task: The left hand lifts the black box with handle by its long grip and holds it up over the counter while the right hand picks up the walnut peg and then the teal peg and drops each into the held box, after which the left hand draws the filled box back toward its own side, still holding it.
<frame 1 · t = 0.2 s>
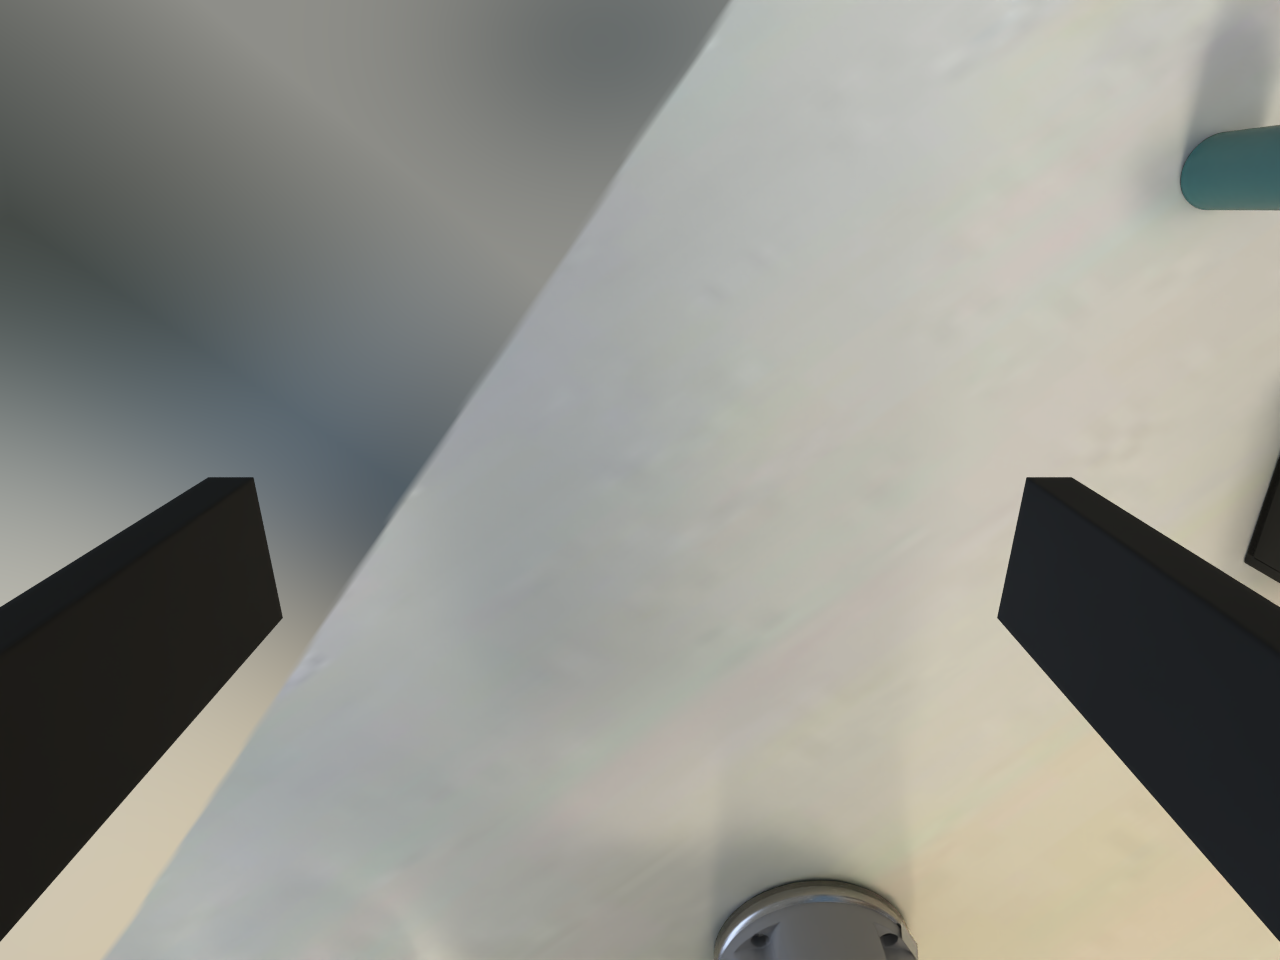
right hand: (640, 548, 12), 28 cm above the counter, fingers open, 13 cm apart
teal peg: (1216, 171, 36), on the counter
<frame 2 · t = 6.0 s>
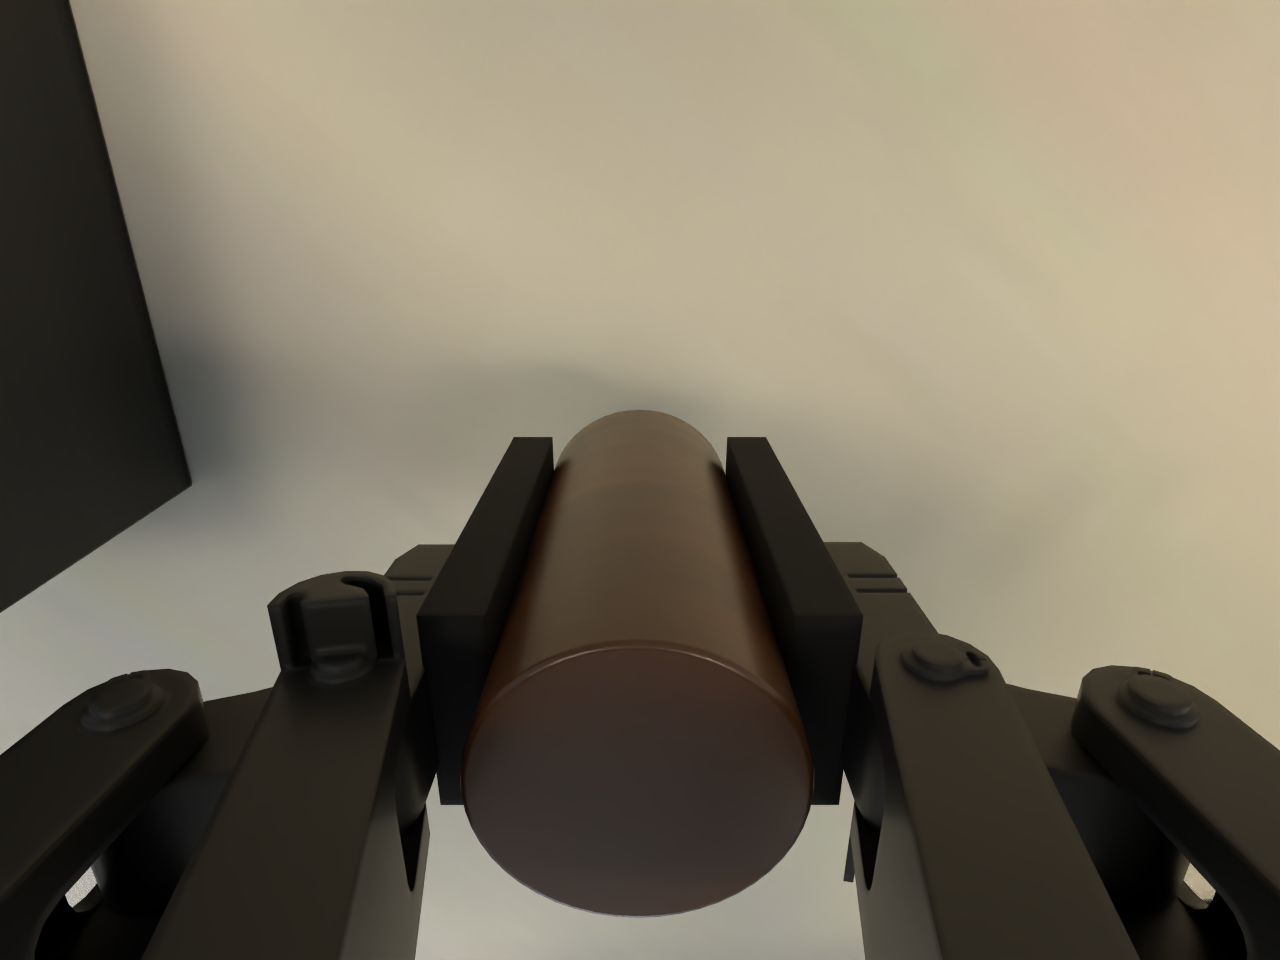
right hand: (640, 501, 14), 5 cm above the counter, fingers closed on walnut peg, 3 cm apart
walnut peg: (639, 493, 15), point 4 cm above the counter, touching right hand
when the right hand's fingers open (20 cm above the counter, at t = 10.5 s): walnut peg drops 10 cm and tips over, resting on black box with handle.
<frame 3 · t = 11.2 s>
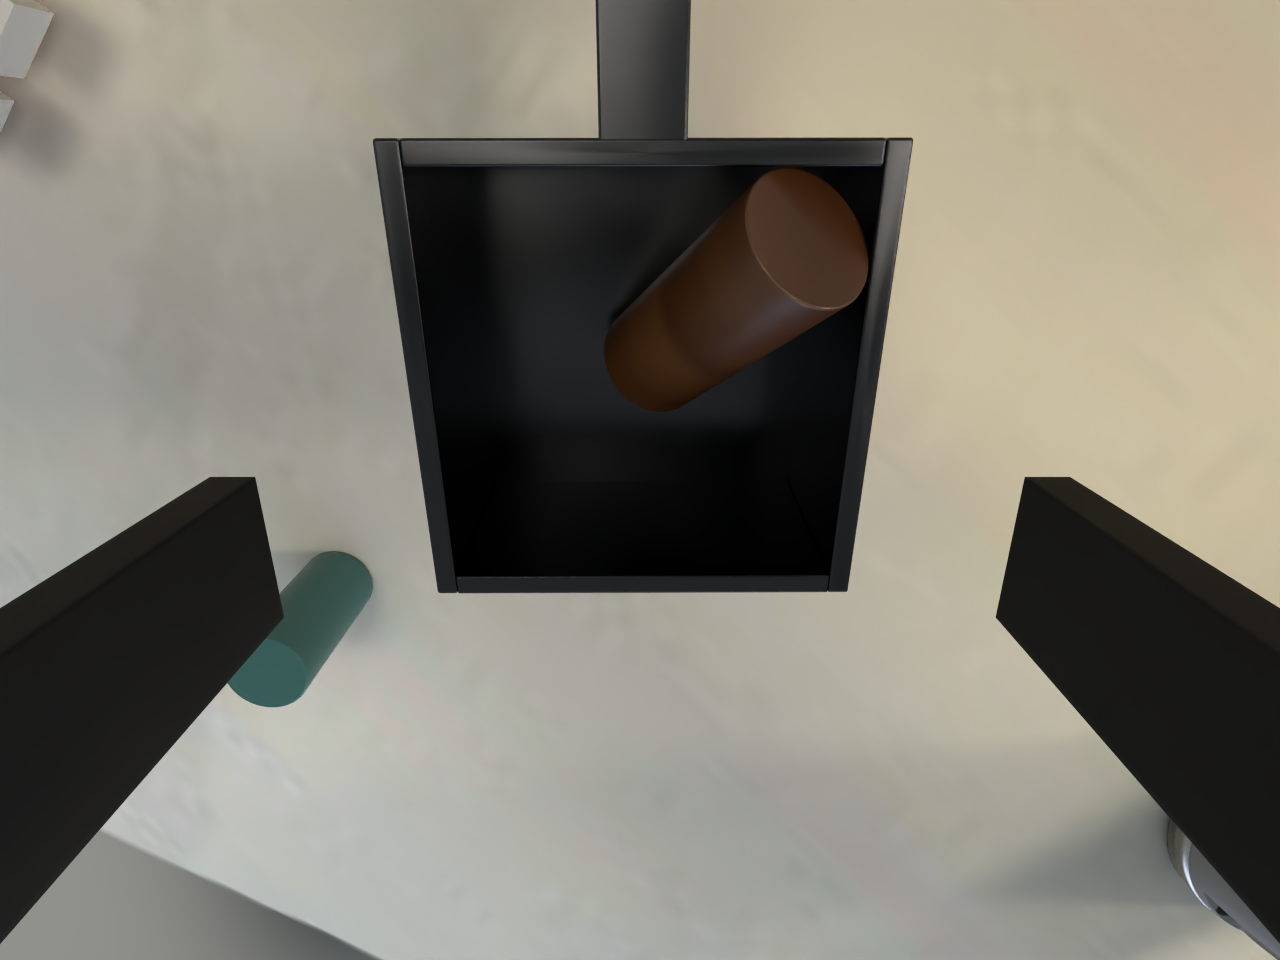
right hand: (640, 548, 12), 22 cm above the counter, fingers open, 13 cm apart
teal peg: (339, 581, 38), on the counter
black box with handle: (641, 333, 25), point 8 cm above the counter, touching left hand, walnut peg
walnut peg: (653, 360, 23), point 10 cm above the counter, tilted 42°, touching black box with handle
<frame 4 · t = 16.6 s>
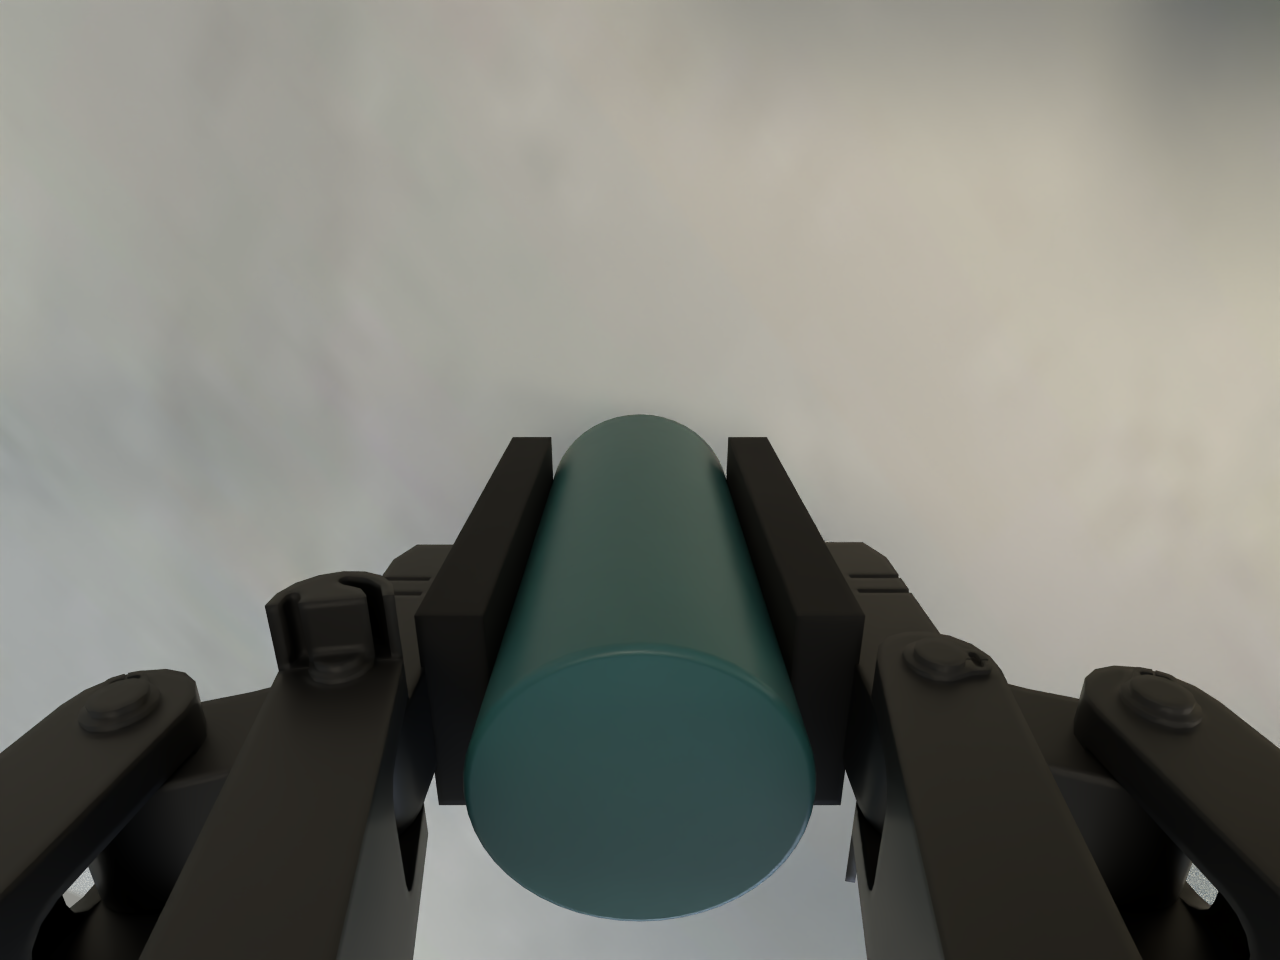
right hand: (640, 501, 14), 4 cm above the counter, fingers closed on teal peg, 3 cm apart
teal peg: (639, 497, 15), point 4 cm above the counter, touching right hand
when the right hand's fingers open (20 cm above the counter, at t = 20.7 s): teal peg drops 9 cm and tips over, resting on black box with handle, walnut peg.
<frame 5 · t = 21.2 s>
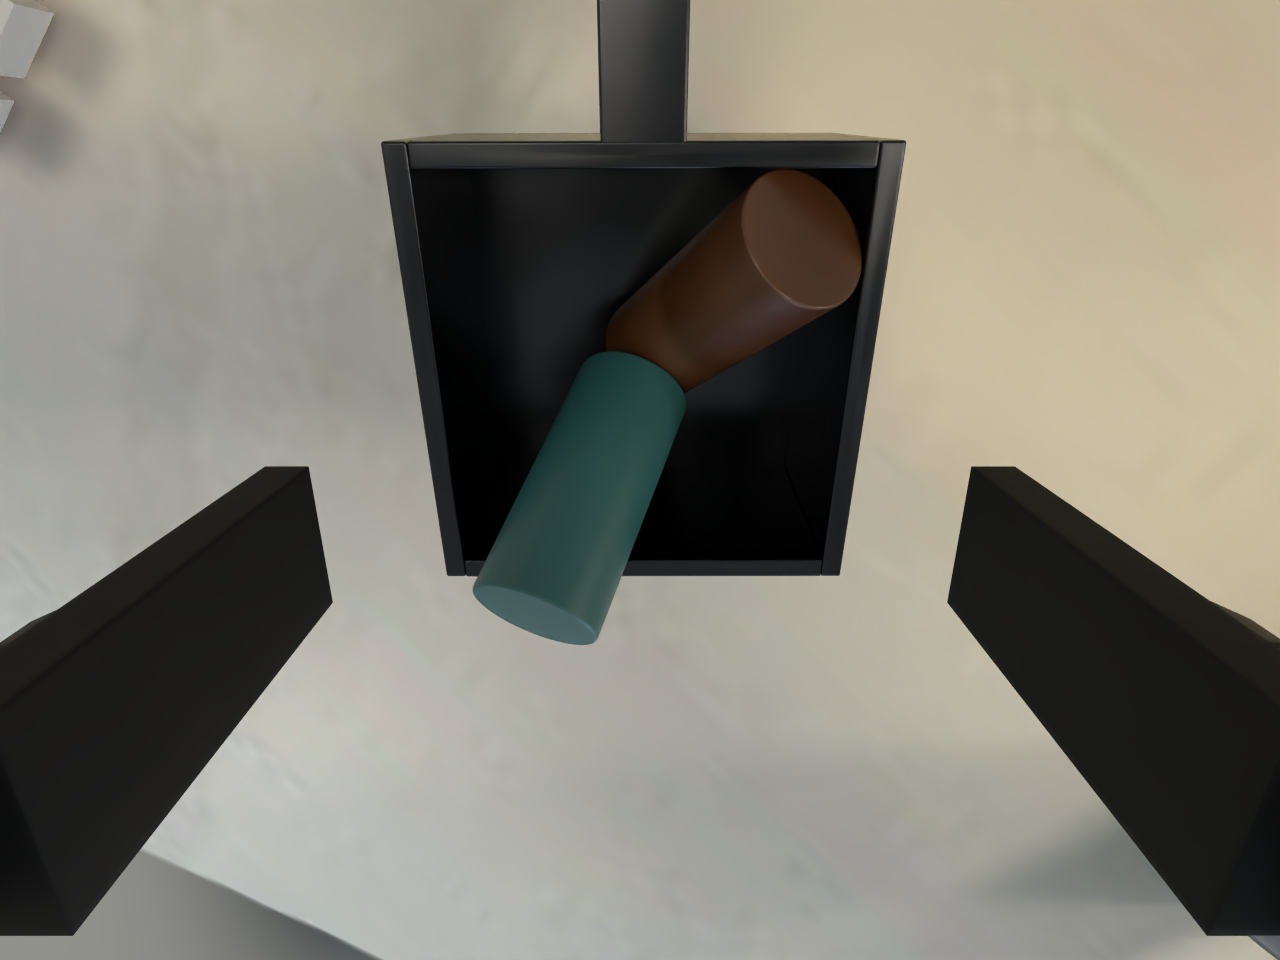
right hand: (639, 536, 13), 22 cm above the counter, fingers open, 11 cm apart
teal peg: (633, 389, 23), point 11 cm above the counter, tilted 43°, touching black box with handle, walnut peg
black box with handle: (642, 322, 25), point 7 cm above the counter, tilted 6°, touching left hand, teal peg, walnut peg
walnut peg: (653, 349, 24), point 9 cm above the counter, tilted 40°, touching black box with handle, teal peg
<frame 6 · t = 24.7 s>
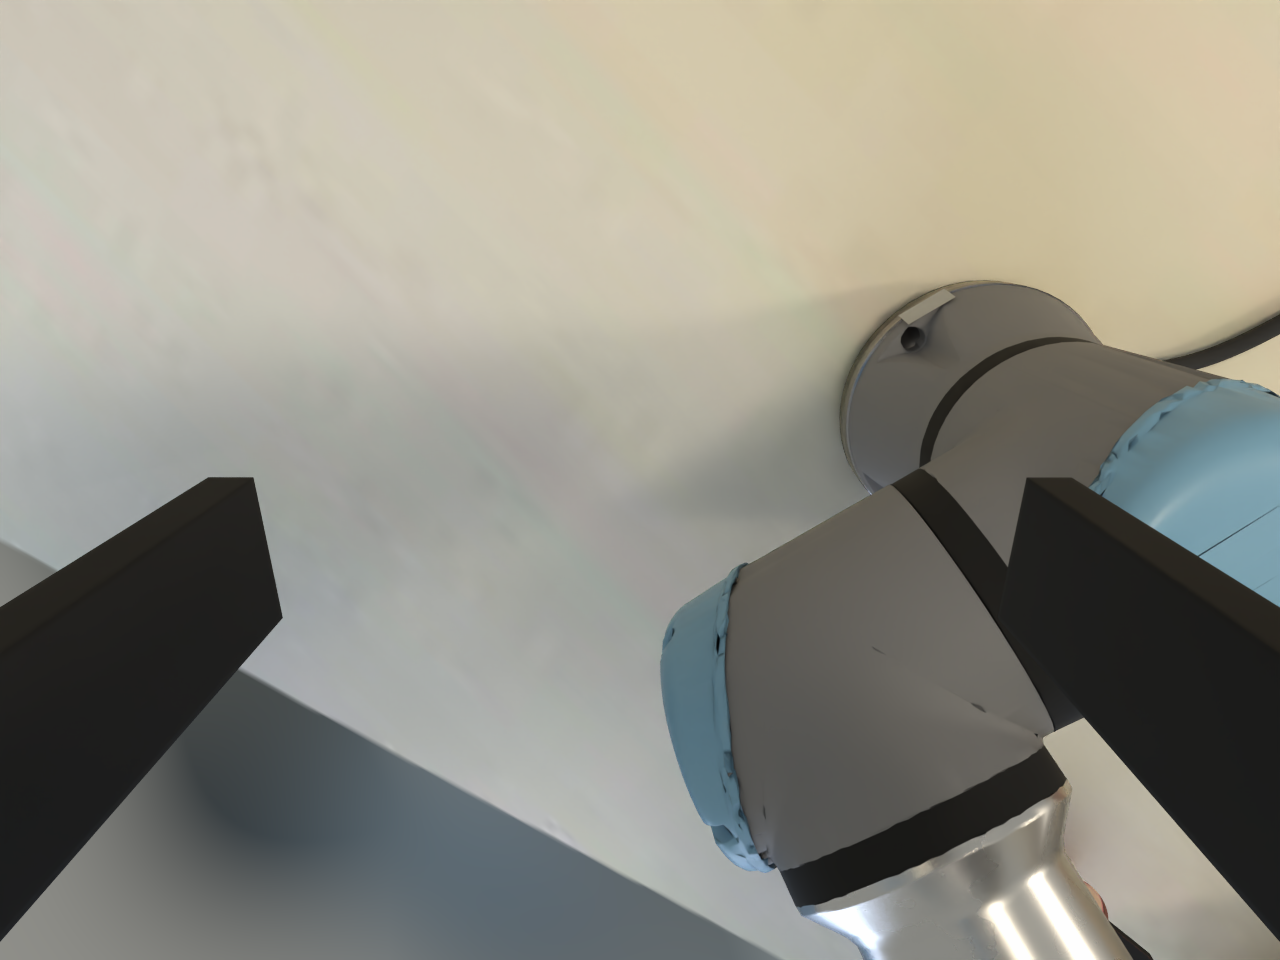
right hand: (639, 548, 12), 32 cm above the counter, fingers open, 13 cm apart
figurine character: (1011, 851, 57), on the counter
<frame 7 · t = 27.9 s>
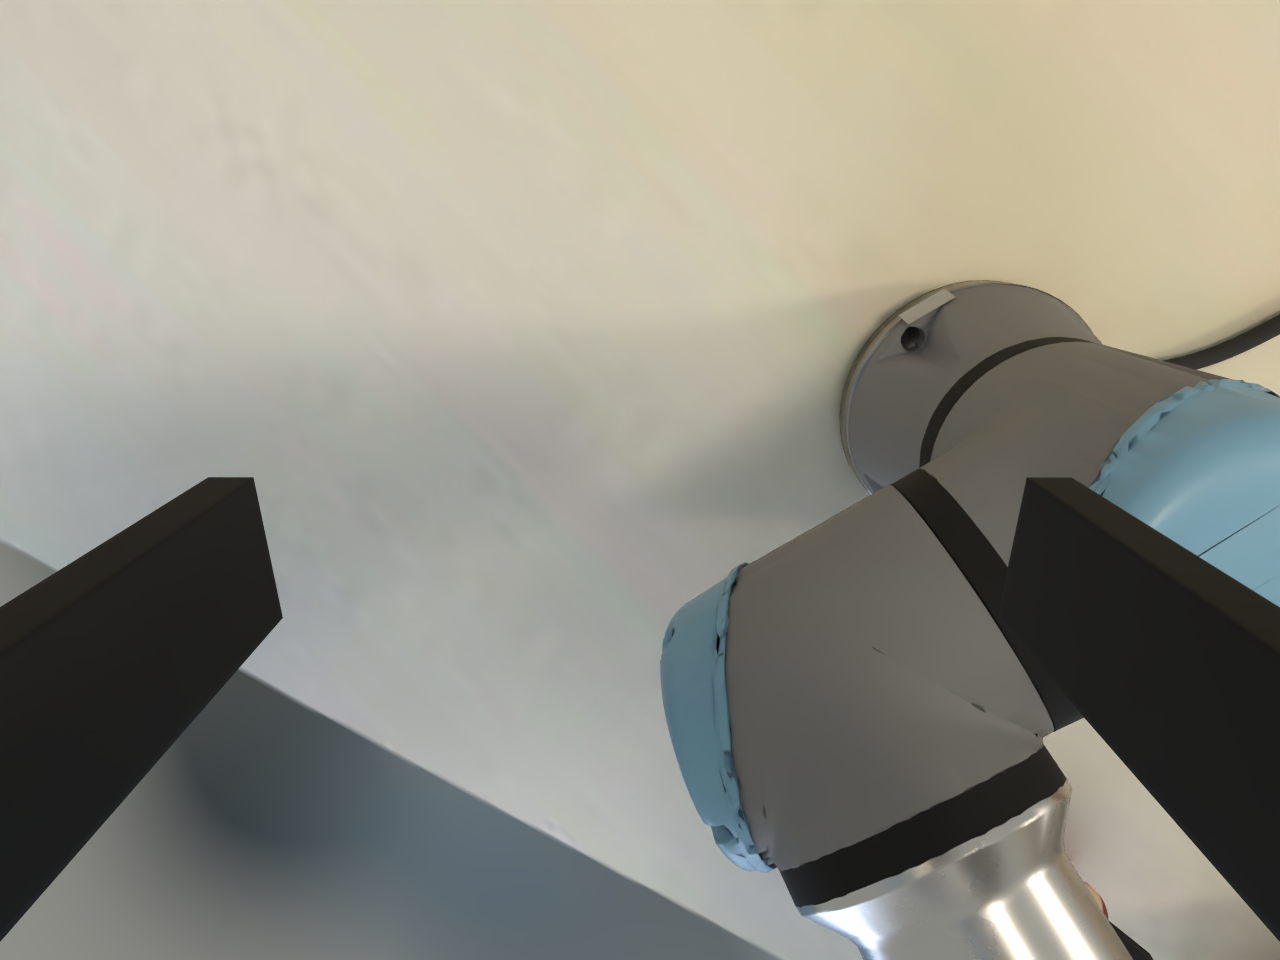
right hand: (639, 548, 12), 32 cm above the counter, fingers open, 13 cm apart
figurine character: (1011, 851, 57), on the counter
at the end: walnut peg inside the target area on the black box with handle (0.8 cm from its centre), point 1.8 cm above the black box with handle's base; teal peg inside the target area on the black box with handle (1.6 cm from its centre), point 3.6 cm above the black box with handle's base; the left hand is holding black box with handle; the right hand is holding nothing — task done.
